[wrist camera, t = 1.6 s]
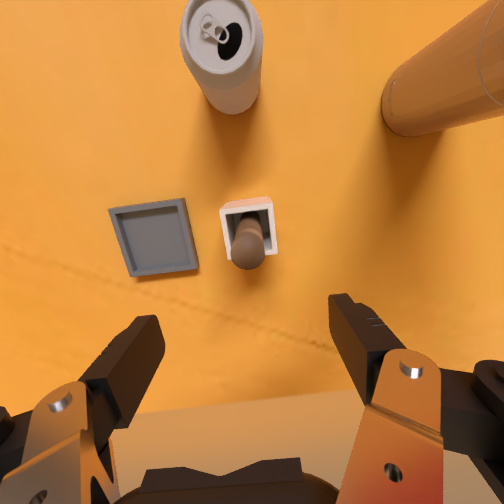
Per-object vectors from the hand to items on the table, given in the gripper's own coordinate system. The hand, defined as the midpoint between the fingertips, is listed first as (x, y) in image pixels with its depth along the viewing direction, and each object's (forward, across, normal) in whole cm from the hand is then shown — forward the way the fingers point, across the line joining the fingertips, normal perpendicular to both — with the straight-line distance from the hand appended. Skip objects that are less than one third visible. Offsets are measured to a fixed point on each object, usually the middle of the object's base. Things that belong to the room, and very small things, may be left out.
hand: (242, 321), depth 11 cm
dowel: (+26, 0, 0) cm, 26 cm away
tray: (+27, +15, +1) cm, 31 cm away
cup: (+27, 0, 0) cm, 27 cm away
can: (+27, 0, -18) cm, 32 cm away
